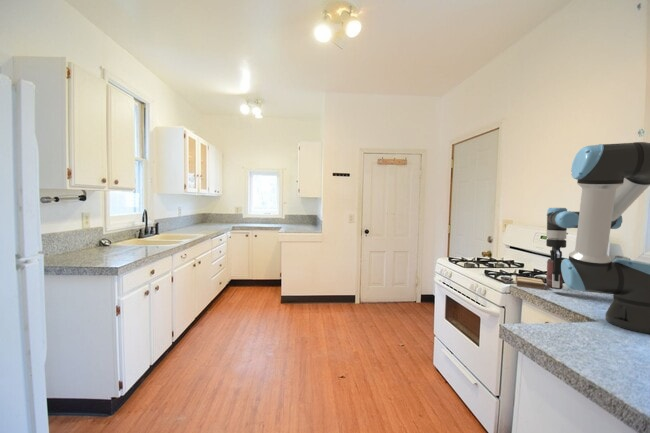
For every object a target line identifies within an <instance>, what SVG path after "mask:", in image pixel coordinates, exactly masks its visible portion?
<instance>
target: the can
mask: <svg viewBox="0 0 650 433" xmlns="http://www.w3.org/2000/svg"><path fill="white" fill-rule="evenodd" d="M562 260H563V259H561V262H562ZM546 264H547V265H546V287H547V288H549V289H553V290H562V289H563V286H564V285H563V283H564V280H563V276H562V272H561V274H560V288H555V287H552V274H551V273H553V260H552V259H551V258H548V259H547V261H546Z"/></svg>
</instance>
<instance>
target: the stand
mask: <svg viewBox="0 0 650 433" xmlns="http://www.w3.org/2000/svg"><path fill="white" fill-rule="evenodd" d="M515 285H516V287H520V288H527V289H528V288H529V289H536V290H543V291H546V284H545V282H544V280H543V279H541V278H535V277H533V278H532V277H524V276H515Z"/></svg>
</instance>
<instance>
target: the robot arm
mask: <svg viewBox="0 0 650 433" xmlns="http://www.w3.org/2000/svg"><path fill="white" fill-rule="evenodd" d="M571 164H572V165H571V170H570V171H571V177H572V178H573V179H574V180H577V185H578V186H580V187H581V196H580V205H579V206H580V207H579V211H571V210H568V209H567V208H566V207H548V208H547V212H546V236H545V237H546V247H547V248H548V247H549V248H551V249H550V251H549V252H550V259H552V260H553V273H551V274H552V287H555V288H560V274H561V272H562V276H563V283H564V284H565V285H566V286H567V288H568V289H570V290H572V291H579V292H582V293H596V294H606V295H607V294H608V295H613V296H612V301H611V303H610V305H609V307H608V308H607V310H606V312H605V320H606V322H608V323H609V322H610V323H609V324H611V323H612V325H614V326H616V327H620V328H623V329H626V330H630V331H632V332H633V331H634V332H638V333H643V334H650V263H649V262H644V261H643V262H642V261H639V260H632V259H627V258H619V257H618V258H617V257H616V258H615V259H614V260H613V259H612V258H611V257H610V256H609V255H608V249H609V244H610V236H611V235H610V234H611V230H618V229H619V228H621V226H622V224H623V216H622V215H623V214H624V213H625V211H627V210H628V209H629V208H630V207H631V206H632V204H633V203H634V202H635V201H636V200H637V199H638V198H639V197H640V196H642V194H643V193H644V192H645V191H646V190H647V189H648V188H649V186H650V142H646V141H637V142H636V141H635V142H623V143H619V142H618V143H607V144H606V143H605V144H602V143H599V144H594V145H585V146H583V147H582V148H581V149H579V150H578V151H577V153H576V154H575V156H574V158H573V161H572V163H571ZM568 229H577V231H576V239H575V248H574V250H573V251H572V252H570V253H569V254H568V258H564V259H562V258H563V257H562V256H563V252H562V251H561V249H562V248H563V249H564V248H566V247H567V240H566V239H567V235H569V233H568V232H567V230H568ZM561 260H562V262H561Z"/></svg>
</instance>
